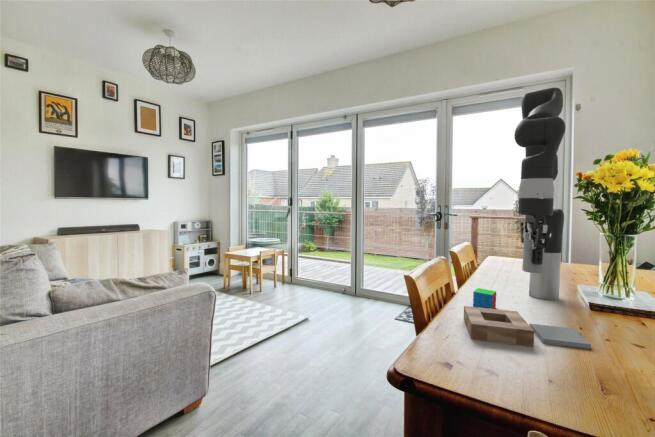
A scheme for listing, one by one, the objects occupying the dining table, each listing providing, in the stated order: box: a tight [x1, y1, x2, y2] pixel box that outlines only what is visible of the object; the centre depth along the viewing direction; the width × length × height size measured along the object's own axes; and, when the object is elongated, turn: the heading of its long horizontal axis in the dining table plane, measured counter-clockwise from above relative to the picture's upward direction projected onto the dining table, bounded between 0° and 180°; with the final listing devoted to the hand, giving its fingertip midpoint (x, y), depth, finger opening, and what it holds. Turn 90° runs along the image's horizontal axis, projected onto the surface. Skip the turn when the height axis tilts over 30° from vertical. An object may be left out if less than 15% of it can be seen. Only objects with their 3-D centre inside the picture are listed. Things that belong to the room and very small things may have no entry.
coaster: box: [529, 323, 592, 350], centre depth 80 cm, size 10×10×1 cm
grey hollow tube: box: [521, 232, 545, 274], centre depth 80 cm, size 4×4×10 cm
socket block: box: [463, 305, 535, 348], centre depth 83 cm, size 14×14×4 cm
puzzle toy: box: [472, 287, 497, 309], centre depth 102 cm, size 6×6×6 cm
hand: (532, 262), depth 80 cm, fingers closed on grey hollow tube, 4 cm apart
